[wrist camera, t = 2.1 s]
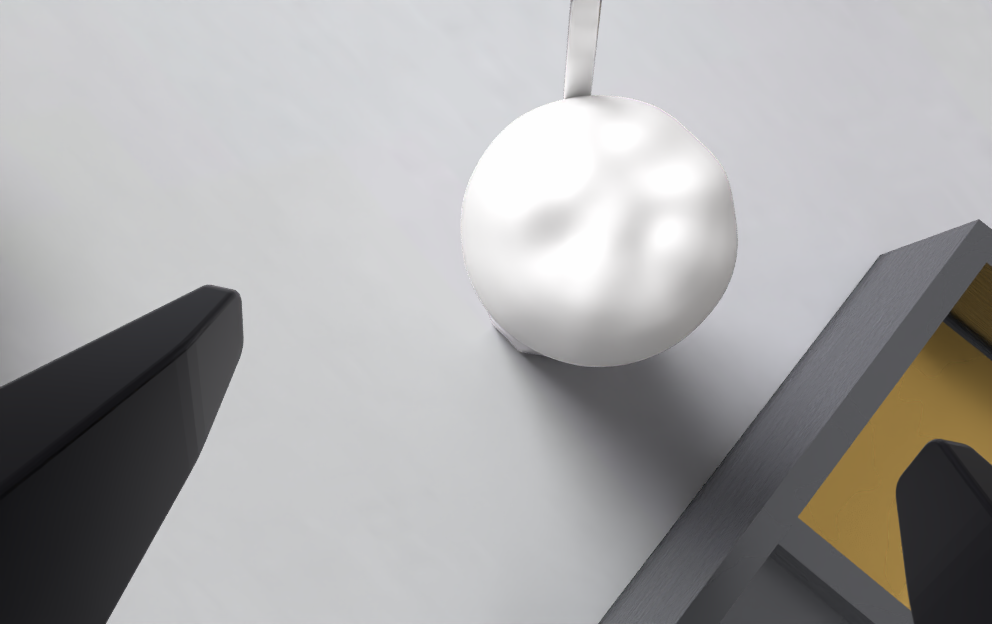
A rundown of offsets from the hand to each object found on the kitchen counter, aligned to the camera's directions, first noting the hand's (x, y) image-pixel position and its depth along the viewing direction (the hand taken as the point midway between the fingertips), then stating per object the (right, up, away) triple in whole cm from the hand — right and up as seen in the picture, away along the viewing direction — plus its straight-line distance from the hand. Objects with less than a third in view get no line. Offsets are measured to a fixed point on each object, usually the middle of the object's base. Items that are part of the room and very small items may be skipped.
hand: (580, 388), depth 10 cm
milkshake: (0, +2, +11) cm, 11 cm away
